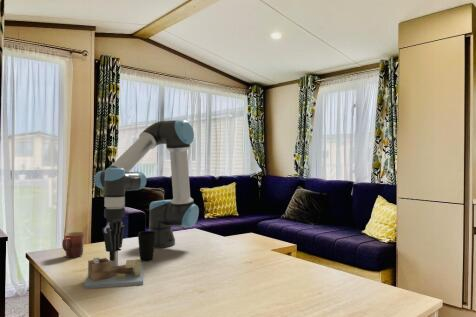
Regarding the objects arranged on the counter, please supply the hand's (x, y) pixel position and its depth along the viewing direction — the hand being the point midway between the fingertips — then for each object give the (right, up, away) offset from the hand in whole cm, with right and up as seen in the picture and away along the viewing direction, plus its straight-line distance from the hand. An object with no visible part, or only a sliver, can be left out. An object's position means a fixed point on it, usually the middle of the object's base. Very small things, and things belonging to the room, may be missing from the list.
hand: (113, 267), depth 139 cm
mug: (-27, -3, +24) cm, 37 cm away
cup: (+7, -3, +21) cm, 23 cm away
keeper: (+7, -2, -3) cm, 8 cm away
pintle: (-4, -2, -6) cm, 8 cm away
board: (+2, -3, -2) cm, 4 cm away
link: (+1, -2, -4) cm, 4 cm away
